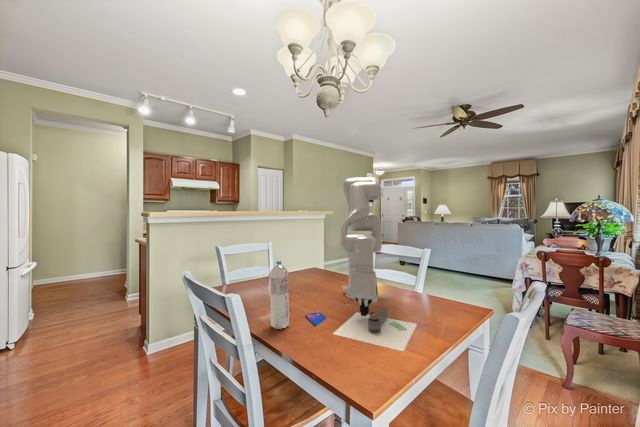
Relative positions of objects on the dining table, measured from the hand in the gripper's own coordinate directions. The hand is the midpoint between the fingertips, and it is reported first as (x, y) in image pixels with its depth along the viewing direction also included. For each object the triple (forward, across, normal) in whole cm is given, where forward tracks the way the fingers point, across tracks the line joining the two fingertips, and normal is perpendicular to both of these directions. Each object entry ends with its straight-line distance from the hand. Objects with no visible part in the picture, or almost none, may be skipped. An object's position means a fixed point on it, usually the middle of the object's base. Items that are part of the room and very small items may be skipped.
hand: (364, 314), depth 105 cm
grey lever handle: (+1, +7, -3) cm, 7 cm away
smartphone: (+4, -16, -7) cm, 18 cm away
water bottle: (+3, -27, -18) cm, 33 cm away
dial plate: (+3, +7, -6) cm, 10 cm away
